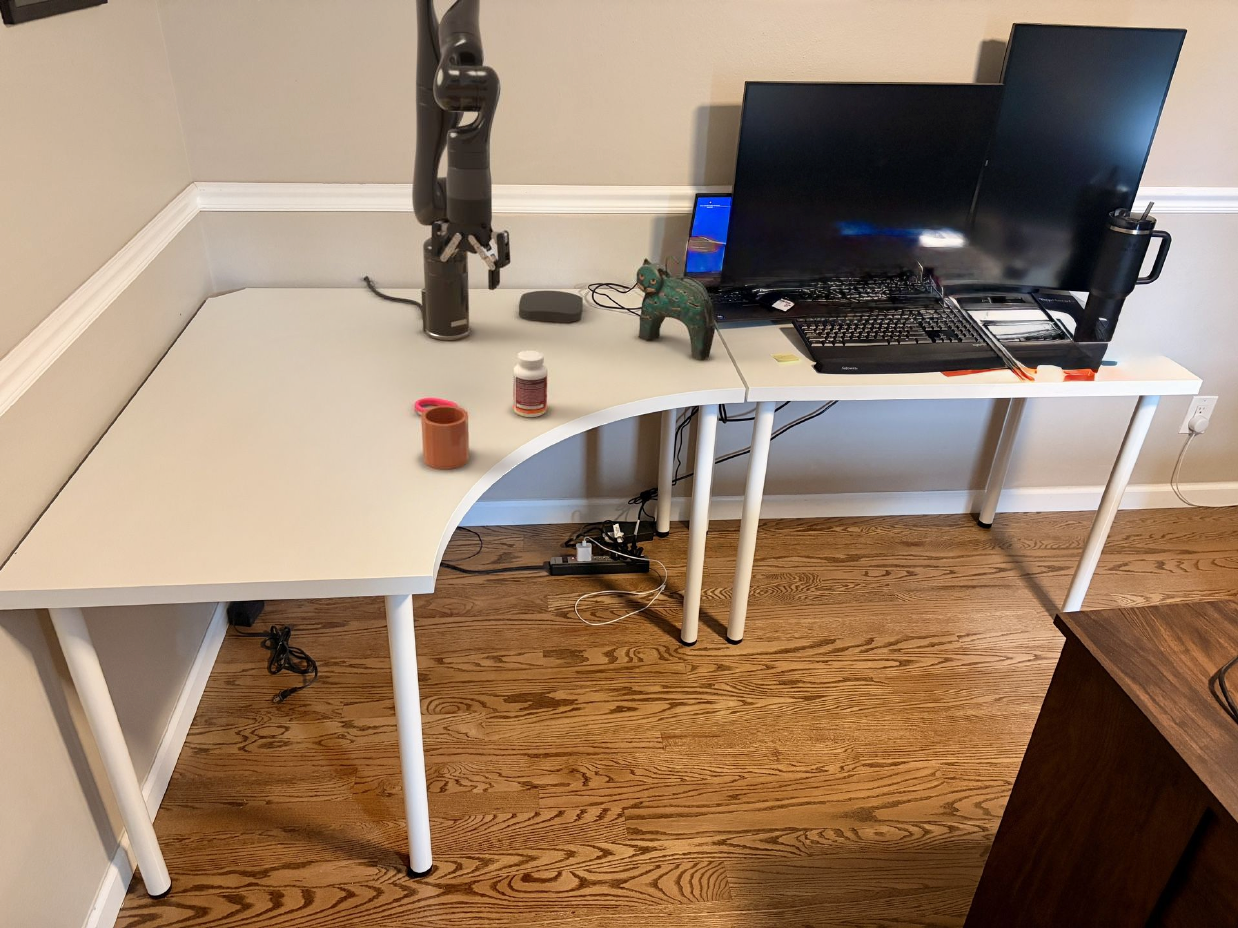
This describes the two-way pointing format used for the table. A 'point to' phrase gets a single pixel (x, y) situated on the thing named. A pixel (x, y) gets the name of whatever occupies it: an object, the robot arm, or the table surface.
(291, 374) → the table surface
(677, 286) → the ceramic cat
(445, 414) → the clay pot
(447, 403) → the fitness band
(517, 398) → the pill bottle
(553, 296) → the media streaming box
